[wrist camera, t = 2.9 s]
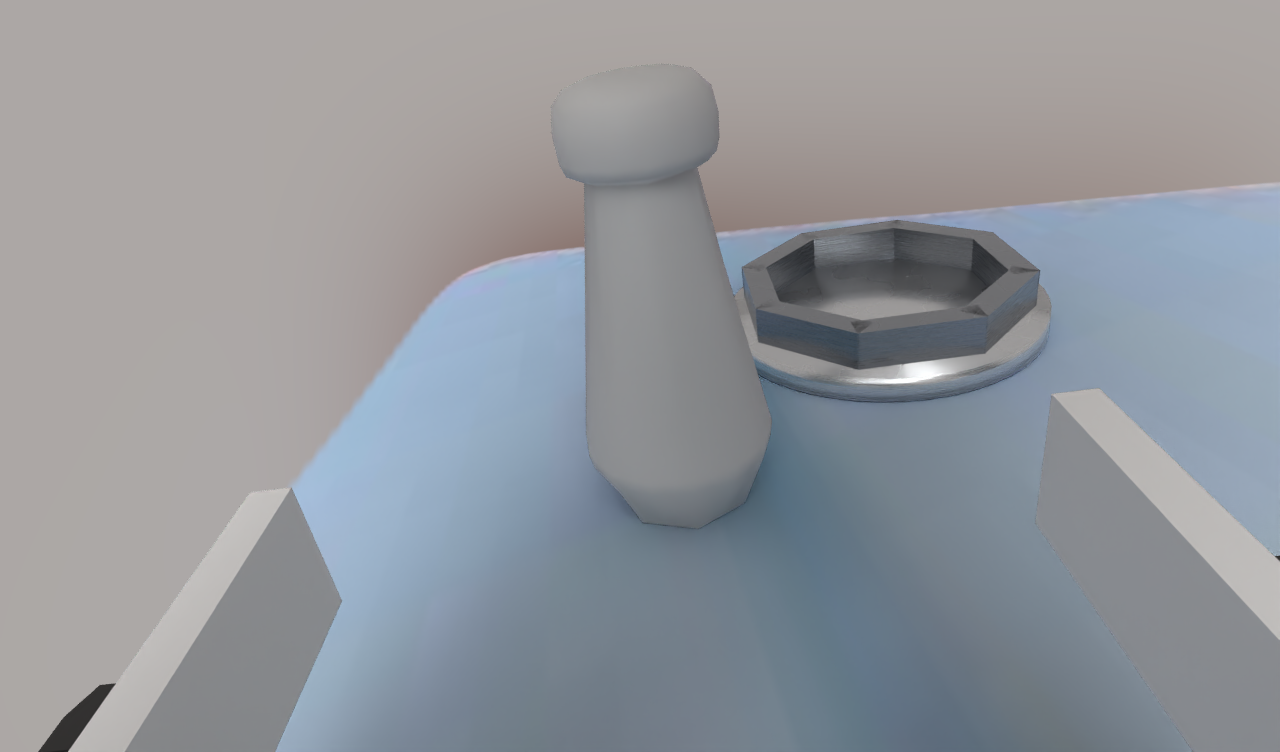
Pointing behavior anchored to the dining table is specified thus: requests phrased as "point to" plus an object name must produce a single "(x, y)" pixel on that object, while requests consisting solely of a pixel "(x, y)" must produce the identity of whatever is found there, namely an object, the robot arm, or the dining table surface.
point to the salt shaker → (659, 299)
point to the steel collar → (892, 312)
